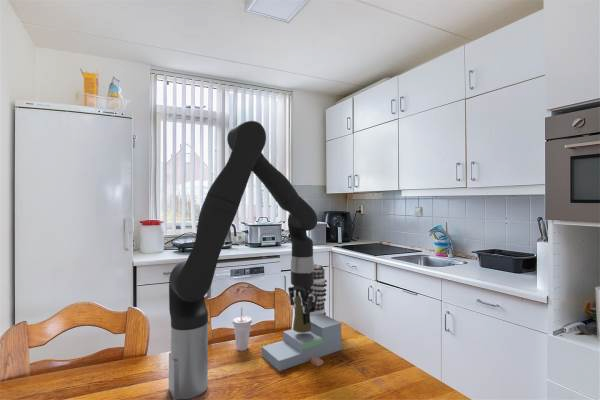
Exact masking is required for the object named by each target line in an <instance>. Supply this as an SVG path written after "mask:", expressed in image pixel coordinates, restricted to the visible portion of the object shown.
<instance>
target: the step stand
mask: <svg viewBox="0 0 600 400" xmlns="http://www.w3.org/2000/svg"><path fill="white" fill-rule="evenodd" d="M310 322H311V330H310V331H309V332H304V333H301V332H296V331H294V330H293V328H292V329H288V330H283V331H282V337H283V338H282V340H281V341H277V342H274V343H269V344H265V345H262V346H261V357H262V358H263V359H264V360H266V362H267V363H269V364H270V365H271V366H272V367H274V369H276V370H277V371H278V372H281V371H283V370H287V369H290V368H292V367H296V366H298V365H301V364H304V363H307V362H309V361H310V362H311V357H318V358H321V357H324V356H328V355H330V354H333V353H337V352H339V351H342V322H340V321H338V320H336V319H335V318H332V317H330V316H328V315H327V314H326V315H324V314H322V313H320V314H316V315H312V316H310Z"/></svg>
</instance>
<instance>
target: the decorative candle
mask: <svg viewBox="0 0 600 400" xmlns="http://www.w3.org/2000/svg"><path fill="white" fill-rule="evenodd" d="M325 271H326V269H325V268H324V267H323V265H321V264H315V263H314V283H313V285H312V286H311V290H312V294H313V295H317V302H316V306H315V310H314V312H311V313H310V316H312V315H316V314H320V313H322V314H324V315H326V316H327V313H326V308H325V305H326V304H325V302H326V300H327V299H326V298H325V297H326V296H327V293H326V292H327V289H326V288H325V287H327V285H328V284H327V282H328V281H327V279H326V277H325V274H326V273H325Z"/></svg>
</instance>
